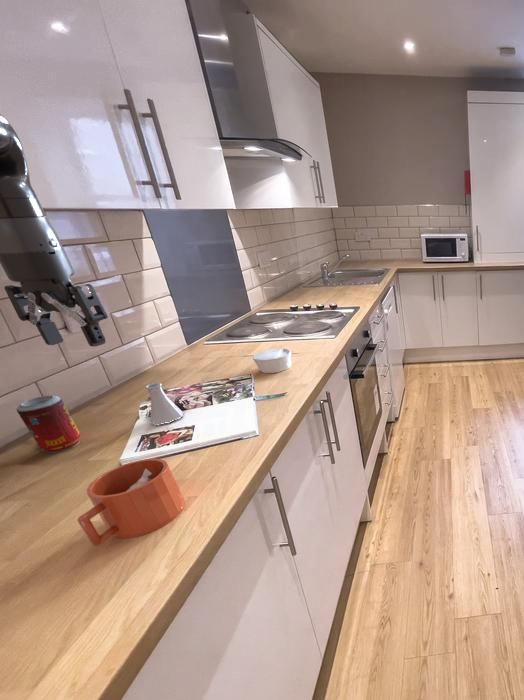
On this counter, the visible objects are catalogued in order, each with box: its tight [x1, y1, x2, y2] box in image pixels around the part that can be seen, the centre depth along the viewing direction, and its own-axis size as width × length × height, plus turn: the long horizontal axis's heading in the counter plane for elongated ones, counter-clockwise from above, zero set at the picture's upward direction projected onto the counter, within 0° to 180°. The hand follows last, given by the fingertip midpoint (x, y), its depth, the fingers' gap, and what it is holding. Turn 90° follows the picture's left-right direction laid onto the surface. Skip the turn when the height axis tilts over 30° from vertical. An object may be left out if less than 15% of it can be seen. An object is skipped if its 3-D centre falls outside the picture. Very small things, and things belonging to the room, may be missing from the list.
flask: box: [145, 382, 184, 424], centre depth 106 cm, size 7×7×10 cm
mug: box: [77, 458, 186, 547], centre depth 72 cm, size 14×11×9 cm
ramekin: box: [252, 347, 292, 374], centre depth 138 cm, size 11×11×5 cm
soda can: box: [16, 394, 81, 454], centre depth 94 cm, size 7×7×12 cm
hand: (77, 344), depth 72 cm, fingers open, 8 cm apart
